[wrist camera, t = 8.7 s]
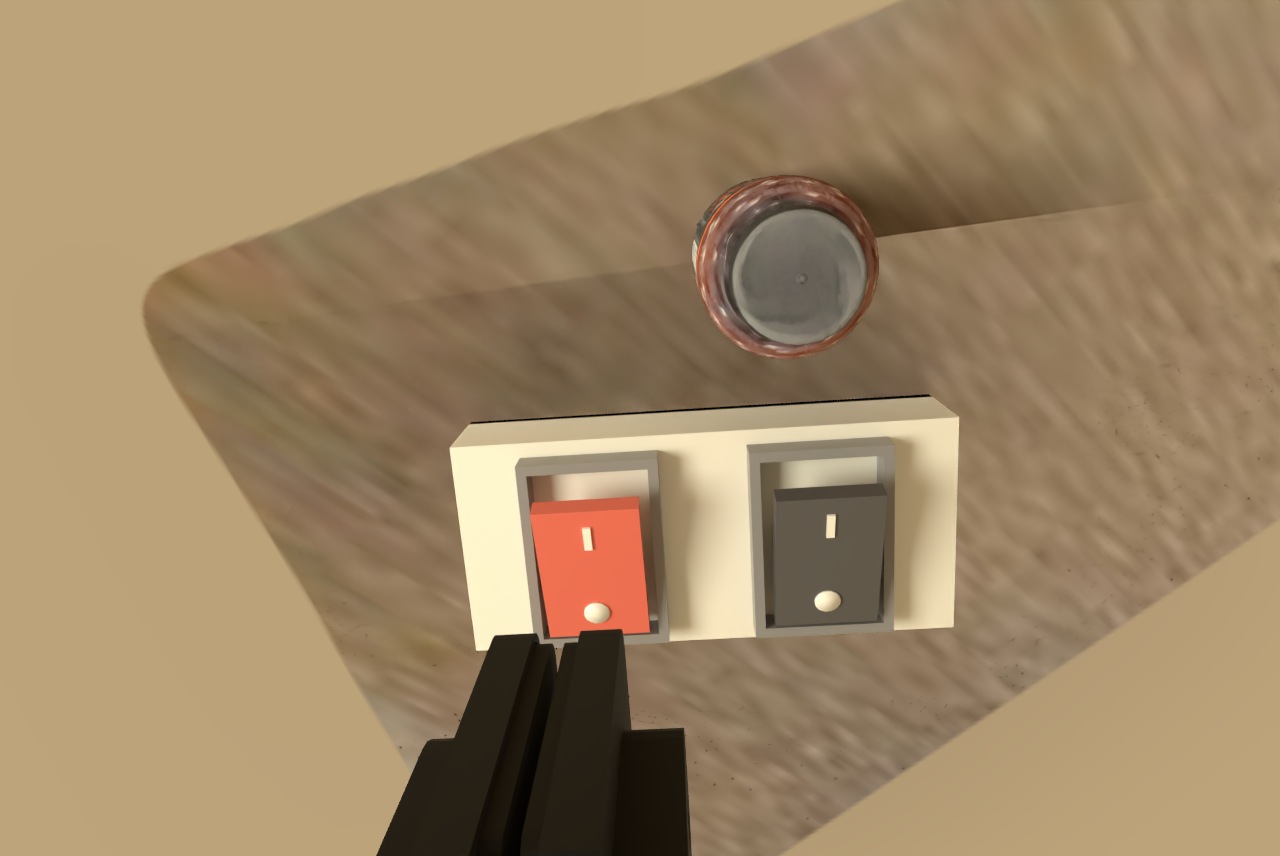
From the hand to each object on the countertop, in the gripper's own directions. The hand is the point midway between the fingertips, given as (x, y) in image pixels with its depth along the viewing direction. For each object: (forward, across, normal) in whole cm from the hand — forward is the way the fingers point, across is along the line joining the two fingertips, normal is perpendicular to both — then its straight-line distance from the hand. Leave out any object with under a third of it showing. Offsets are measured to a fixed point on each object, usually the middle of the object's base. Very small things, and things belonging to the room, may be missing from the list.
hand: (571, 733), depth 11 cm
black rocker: (+22, -7, +7) cm, 24 cm away
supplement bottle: (+27, -6, -4) cm, 28 cm away
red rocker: (+22, +2, +7) cm, 23 cm away
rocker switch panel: (+27, -2, +7) cm, 28 cm away
